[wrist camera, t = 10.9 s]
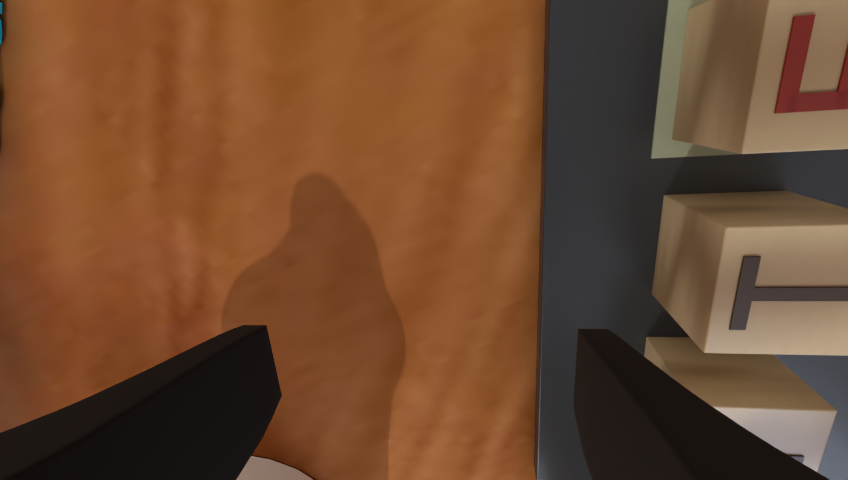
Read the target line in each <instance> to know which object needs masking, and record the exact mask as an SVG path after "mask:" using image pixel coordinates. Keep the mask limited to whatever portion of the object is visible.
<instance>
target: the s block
mask: <svg viewBox="0 0 848 480" xmlns="http://www.w3.org/2000/svg"><path fill="white" fill-rule="evenodd" d="M672 140H676V141H681V142H686V143H691V144H696V145H701V146H705V147H710V148H715V149H720V150H725V151H730V152H735V153H740V154H754V153H775V152H796V151H817V150H838V149H848V0H709V1H707V2H704V3H702V4H700V5H698V6H695V7H693V8H691V9H689V10H688V15H687V23H686V31H685V39H684V47H683V55H682V63H681V71H680V79H679V87H678V95H677V103H676V111H675V119H674V127H673V135H672Z"/></svg>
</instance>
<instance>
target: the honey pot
mask: <svg viewBox="0 0 848 480" xmlns="http://www.w3.org/2000/svg"><path fill="white" fill-rule="evenodd" d="M236 480H313V479H312V478H310V477H309V476H307V475H305V474H304V473H302V472H300V471H299V470H297V469H295V468H292V467H289V466H287V465H284V464H281V463H279V462H276V461H274V460H271V459H265V458H259V457H254V456H251V457H250V459H249V460H248V462H247V463H246V465H245V467H244V468H243V470H242V471H241V473H240V475H239V476H238V478H237V479H236Z"/></svg>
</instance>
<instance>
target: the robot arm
mask: <svg viewBox="0 0 848 480" xmlns="http://www.w3.org/2000/svg"><path fill="white" fill-rule="evenodd" d="M281 396H282V395H281V390H280V386H279V381H278V376H277V372H276V367H275V363H274V358H273V354H272V349H271V344H270V340H269V335H268V331H267V326H266V325H243V326H240V327H237V328H234V329H232V330H229V331H227V332H225V333H222V334H220V335H218V336H216V337H214V338H212V339H209V340H207V341H205V342H203V343H201V344H199V345H197V346H195V347H193V348H191V349H189V350H187V351H185V352H183V353H181V354H179V355H177V356H175V357H173V358H171V359H169V360H167V361H165V362H163V363H160V364H158V365H156V366H154V367H152V368H150V369H148V370H146V371H144V372H142V373H140V374H138V375H135V376H133V377H131V378H129V379H127V380H125V381H123V382H120V383H118V384H116V385H114V386H112V387H110V388H108V389H105V390H103V391H101V392H99V393H97V394H95V395H93V396H90V397H88V398H86V399H83V400H81V401H79V402H77V403H74V404H72V405H69V406H67V407H65V408H62V409H60V410H58V411H55V412H53V413H50V414H48V415H45V416H43V417H40V418H38V419H35V420H33V421H30V422H28V423H25V424H22V425H20V426H17V427H15V428H12V429H9V430H7V431H4V432H1V433H0V480H236V479H237V478H238V476H239V475H240V473H241V471H242V470H243V468H244V467H245V465H246V463H247V462H248V460H249V459H250V457H251V455H252V454H253V452H254V450H255V449H256V447H257V446H258V444H259V442H260V441H261V439H262V437H263V436H264V433H265V431H266V429H267V427H268V425H269V423H270V421H271V419H272V417H273V415H274V412H275V410H276V408H277V405H278V403H279V401H280V398H281ZM573 408H574V413H575V418H576V422H577V427H578V432H579V436H580V441H581V445H582V450H583V453H584V457H585V460H586V463H587V466H588V469H589V471H590V474H591V477H592V480H830V479H828V478H826V477H824V476H823V475H821V474H819V473H818V472H816V471H814V470H813V469H811V468H809V467H808V466H806V465H804V464H802V463H801V462H799V461H797V460H796V459H794V458H792V457H791V456H789V455H787V454H786V453H784V452H782V451H780V450H779V449H777V448H775V447H774V446H772V445H770V444H769V443H767V442H766V441H764V440H762V439H761V438H759V437H758V436H756V435H754V434H753V433H751V432H750V431H748V430H747V429H745V428H744V427H742V426H741V425H739V424H738V423H736V422H735V421H733V420H732V419H730V418H729V417H727V416H726V415H724V414H723V413H721V412H720V411H718V410H717V409H715V408H714V407H712V406H711V405H709V404H708V403H706V402H705V401H704V400H702V399H701V398H699V397H698V396H697V395H695V394H694V393H692V392H691V391H689V390H688V389H687V388H685V387H684V386H683V385H681V384H680V383H679V382H677V381H676V380H674V379H673V378H672V377H670V376H669V375H668V374H666V373H665V372H664V371H662V370H661V369H660V368H659V367H657V366H656V365H655V364H653V363H652V362H651V361H649V360H648V359H647V358H646V357H644V356H643V355H642V354H640V353H639V352H638V351H637V350H635V349H634V348H633V347H631V346H630V345H629V344H628V343H626V342H625V341H624V340H622V339H621V338H620V337H618V336H617V335H616V334H614V333H613V332H612V331H610V330H609V329H578V336H577V353H576V369H575V385H574V402H573Z"/></svg>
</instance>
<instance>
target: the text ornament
mask: <svg viewBox="0 0 848 480" xmlns="http://www.w3.org/2000/svg"><path fill="white" fill-rule="evenodd" d="M0 14H2V3H1V2H0ZM1 41H2V24H1V19H0V45H1Z"/></svg>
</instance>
